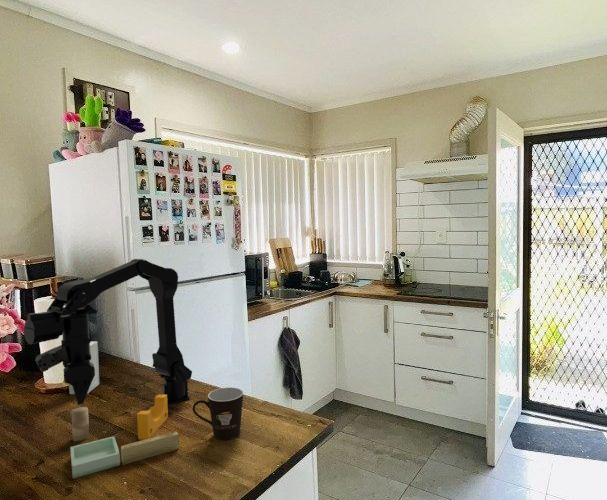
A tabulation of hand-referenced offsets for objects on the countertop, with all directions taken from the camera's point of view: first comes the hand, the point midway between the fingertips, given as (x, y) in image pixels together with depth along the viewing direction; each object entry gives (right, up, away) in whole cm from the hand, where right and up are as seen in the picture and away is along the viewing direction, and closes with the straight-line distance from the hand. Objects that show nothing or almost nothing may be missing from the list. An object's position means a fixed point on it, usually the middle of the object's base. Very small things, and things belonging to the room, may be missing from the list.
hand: (79, 397), depth 102 cm
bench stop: (+21, -10, -8) cm, 24 cm away
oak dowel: (0, -10, 0) cm, 10 cm away
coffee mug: (+35, -10, +1) cm, 36 cm away
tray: (+9, -11, -11) cm, 17 cm away
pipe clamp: (+16, -10, +5) cm, 19 cm away
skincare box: (-15, -9, +32) cm, 37 cm away
